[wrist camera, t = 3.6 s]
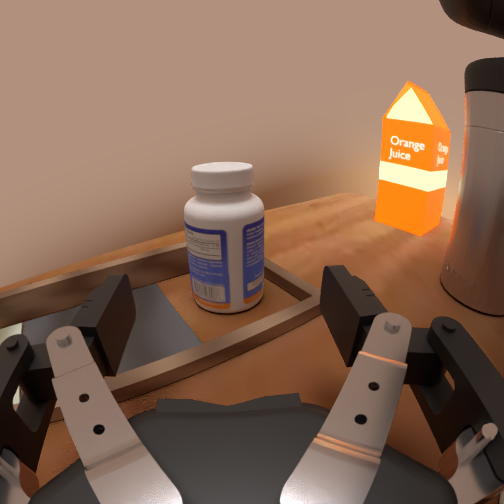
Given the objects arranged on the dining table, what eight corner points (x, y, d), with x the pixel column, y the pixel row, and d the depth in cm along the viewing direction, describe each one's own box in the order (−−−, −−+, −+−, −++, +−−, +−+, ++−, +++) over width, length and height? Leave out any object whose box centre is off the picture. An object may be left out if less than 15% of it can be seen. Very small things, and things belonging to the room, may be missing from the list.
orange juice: (439, 224, 39) (452, 96, 30) (421, 236, 34) (434, 82, 25) (398, 210, 44) (406, 91, 36) (372, 220, 39) (381, 79, 31)
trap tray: (239, 252, 30) (239, 228, 29) (330, 308, 21) (335, 278, 20) (-46, 335, 14) (-58, 311, 13) (-68, 442, 5) (-92, 415, 4)
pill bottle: (249, 273, 26) (248, 158, 22) (275, 307, 21) (279, 168, 17) (187, 284, 24) (176, 164, 20) (200, 322, 19) (186, 175, 15)
